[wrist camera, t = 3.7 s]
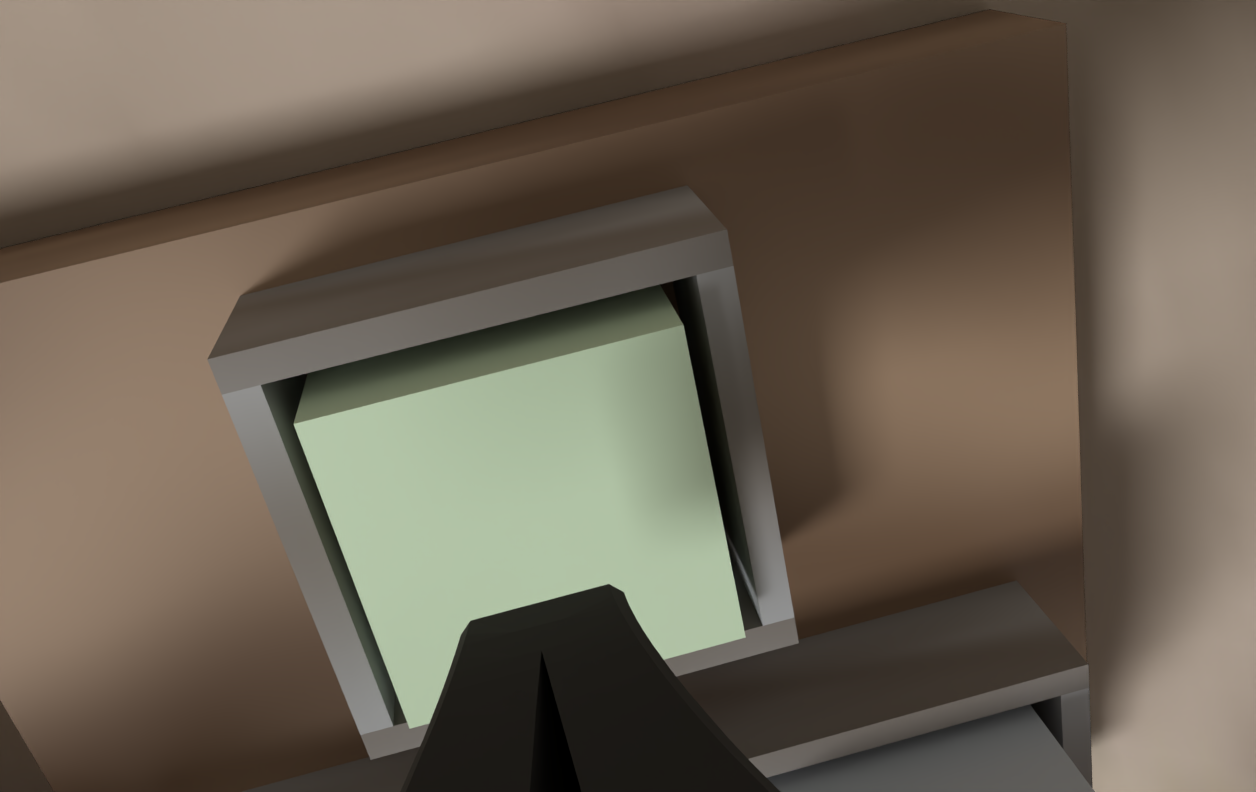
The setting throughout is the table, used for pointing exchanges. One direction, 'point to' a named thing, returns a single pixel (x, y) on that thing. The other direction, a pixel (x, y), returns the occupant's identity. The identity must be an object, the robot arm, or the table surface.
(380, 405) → the green button
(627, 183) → the console
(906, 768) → the grey button
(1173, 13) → the table surface
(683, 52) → the table surface
